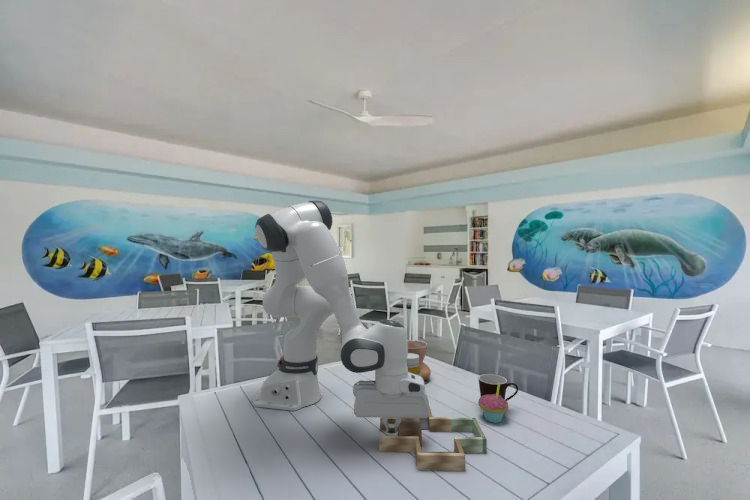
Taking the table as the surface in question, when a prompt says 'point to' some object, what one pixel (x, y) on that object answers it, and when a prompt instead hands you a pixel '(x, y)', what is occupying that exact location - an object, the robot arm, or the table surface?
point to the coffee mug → (494, 385)
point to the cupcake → (493, 406)
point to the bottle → (413, 364)
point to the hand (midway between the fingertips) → (391, 432)
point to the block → (410, 428)
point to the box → (438, 459)
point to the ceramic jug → (420, 356)
